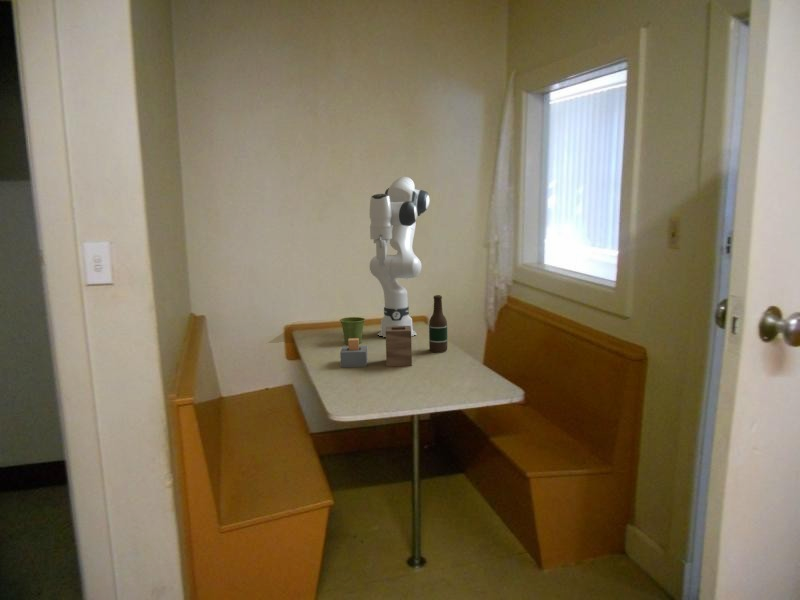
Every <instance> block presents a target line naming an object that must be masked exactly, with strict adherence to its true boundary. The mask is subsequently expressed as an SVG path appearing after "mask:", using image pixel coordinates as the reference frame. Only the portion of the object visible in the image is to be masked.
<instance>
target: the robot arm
mask: <svg viewBox="0 0 800 600" xmlns="http://www.w3.org/2000/svg"><path fill="white" fill-rule="evenodd" d="M429 205H430V194H429V193H428V192H427V190H426V191H425V190H423V189H416V185H415V182H414V181H413V179H411V178H410V177H408V176H401V177H398V178H397V179H396V180H394V181H393V182H392V183H391V184H390V186H389V187H388V188H386V190H385V191H384V193H376V194H373V195H371V196H370V201H369V219H370V225H369V232H370V233H369V236H370V240H373V244H375V246H376V247H375V249H376V250H375V251H376V252H375V253H376V254H375V255H376V256H373V257H372V258H371V260H370V262H369V271H370V273H371V274H372V276H373V277H375V278H376V279H377V280H378V282H379V284H380V286H381V287H382V291H383V299H384V306H383V317H382V318H381V319H380V325H381V326H380V331H379V332H378V333H377V335H379V336H384V337H386V326H411V337H415V336H414V335H416V336H417V332H416V331H415V330H414V329H413V318H412V317H411V316H410V315H409V314H410V307H409V304H408V302H409V301H408V300H409V299H408V293H409V292H408V290H407V289H406V288H405V287H404V286H402V285H401V284H400V283H399V282H398V279H406V280H407V279H414V278H417V277H418V276H419V275H420V274H421V272H422V266H423V265H422V262H421V260H420V259H419V257H417V255H416V254H415V252H414V249H413V243H414V237H415V232H416V226H417V225H416V223H417V219H418V217H420V216H421V215H422V214H424V213H425V212H426V211H427V210H428V208H429ZM388 244H390V247H392V249H393V250H395V251H397V252H396V254H387V253H388ZM379 336H378V337H379ZM384 337H383V338H384Z"/></svg>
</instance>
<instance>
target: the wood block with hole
mask: <svg viewBox="0 0 800 600" xmlns="http://www.w3.org/2000/svg"><path fill="white" fill-rule="evenodd" d="M412 348H413V347H412V336H411V326H386V338H385V354H386V355H385V357H386V358H385V359H386V367H404V366H405V367H410V366H411V367H412V366H413V360H412V359H413V357H412V355H413V353H412Z"/></svg>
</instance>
